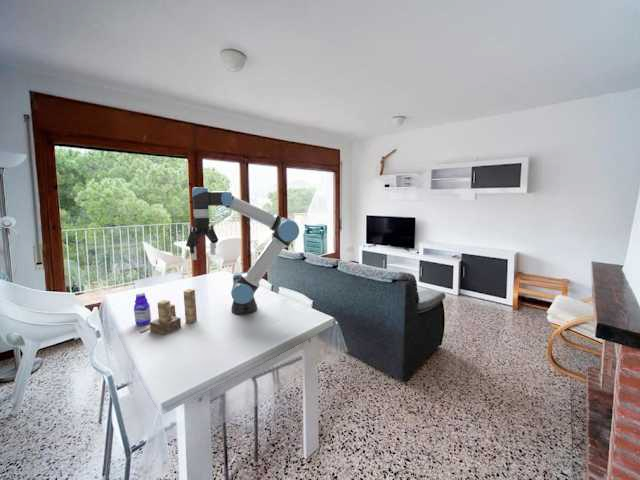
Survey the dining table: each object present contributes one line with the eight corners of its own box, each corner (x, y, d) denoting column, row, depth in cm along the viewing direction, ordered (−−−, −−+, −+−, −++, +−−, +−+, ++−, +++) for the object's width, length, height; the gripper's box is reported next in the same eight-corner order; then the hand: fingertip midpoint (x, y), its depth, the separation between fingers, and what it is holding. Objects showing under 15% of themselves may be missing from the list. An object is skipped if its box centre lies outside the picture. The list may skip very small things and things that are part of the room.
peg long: (191, 319, 161) (189, 288, 158) (196, 320, 159) (194, 289, 157) (185, 322, 157) (183, 291, 154) (191, 323, 156) (189, 292, 153)
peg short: (170, 315, 167) (169, 303, 166) (175, 316, 165) (174, 304, 164) (164, 318, 163) (163, 306, 162) (169, 319, 161) (168, 307, 160)
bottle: (134, 326, 152) (130, 295, 150) (137, 322, 158) (134, 291, 155) (149, 324, 154) (146, 294, 151) (152, 320, 159) (149, 290, 157)
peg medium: (166, 326, 152) (164, 299, 149) (172, 328, 150) (169, 301, 148) (159, 330, 148) (157, 302, 146) (165, 331, 146) (163, 303, 144)
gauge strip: (165, 320, 159) (165, 320, 159) (167, 321, 159) (167, 320, 159) (140, 332, 146) (140, 331, 145) (142, 332, 145) (142, 332, 145)
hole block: (167, 323, 155) (166, 315, 155) (181, 326, 152) (180, 317, 151) (150, 331, 146) (149, 322, 146) (164, 335, 143) (163, 325, 142)
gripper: (213, 215, 162) (215, 252, 165) (176, 218, 139) (179, 261, 142) (223, 215, 159) (225, 253, 162) (187, 219, 136) (190, 262, 139)
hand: (204, 257), depth 152 cm, fingers open, 13 cm apart
